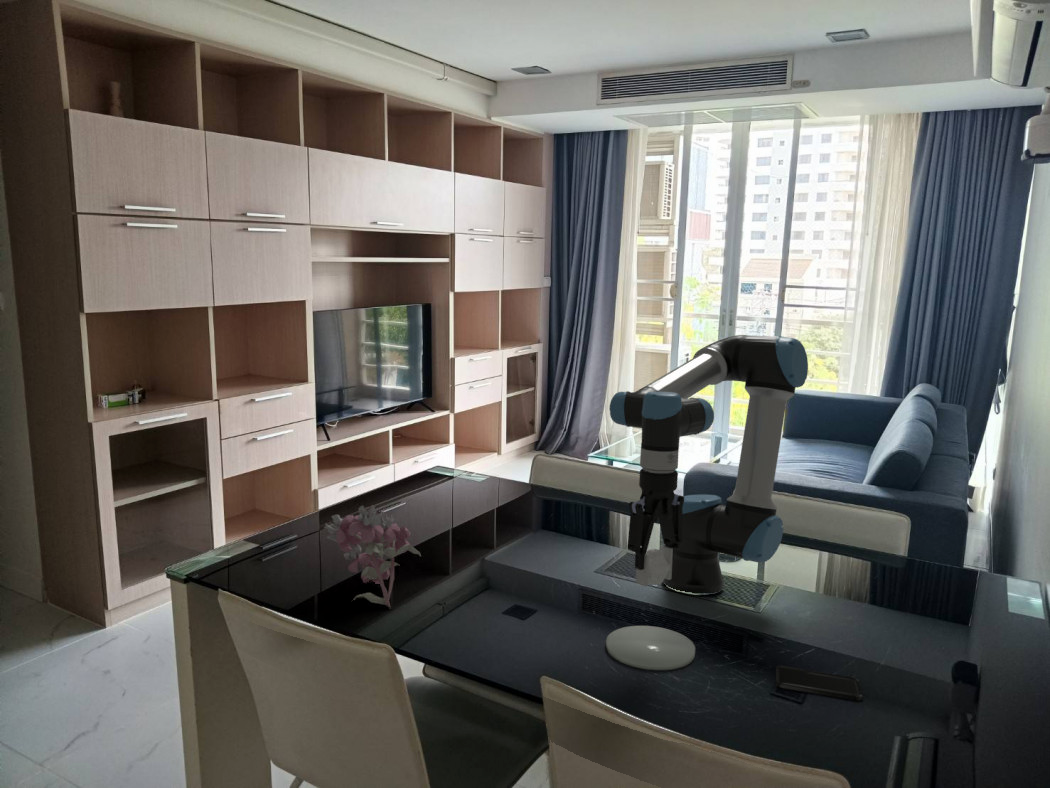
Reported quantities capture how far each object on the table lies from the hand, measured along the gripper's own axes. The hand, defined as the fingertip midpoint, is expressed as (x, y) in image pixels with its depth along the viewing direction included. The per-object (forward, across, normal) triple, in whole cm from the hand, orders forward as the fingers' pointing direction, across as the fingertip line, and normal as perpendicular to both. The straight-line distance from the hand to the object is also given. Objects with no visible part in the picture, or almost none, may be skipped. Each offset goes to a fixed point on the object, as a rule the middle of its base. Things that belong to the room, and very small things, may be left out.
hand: (653, 580), depth 155 cm
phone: (+15, +16, -28) cm, 36 cm away
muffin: (0, 0, 0) cm, 0 cm away
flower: (+15, -34, +59) cm, 70 cm away
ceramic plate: (+15, 0, 0) cm, 15 cm away
